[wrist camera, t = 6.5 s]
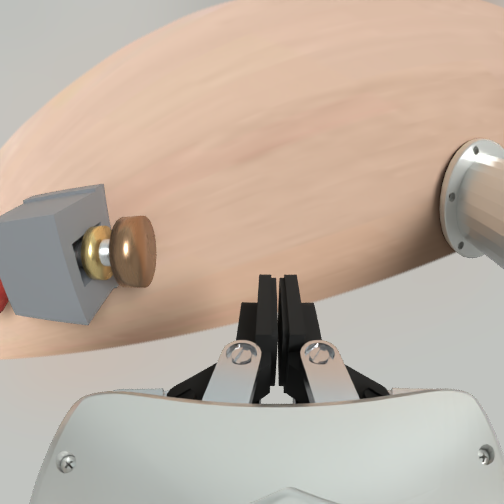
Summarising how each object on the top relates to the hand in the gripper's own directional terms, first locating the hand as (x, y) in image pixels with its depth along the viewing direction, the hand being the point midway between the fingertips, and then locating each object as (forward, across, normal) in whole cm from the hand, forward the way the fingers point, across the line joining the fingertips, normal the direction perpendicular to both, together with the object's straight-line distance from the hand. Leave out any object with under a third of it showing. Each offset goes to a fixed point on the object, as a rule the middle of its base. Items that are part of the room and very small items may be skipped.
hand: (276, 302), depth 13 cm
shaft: (+8, +15, 0) cm, 17 cm away
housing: (+9, +18, 0) cm, 20 cm away
